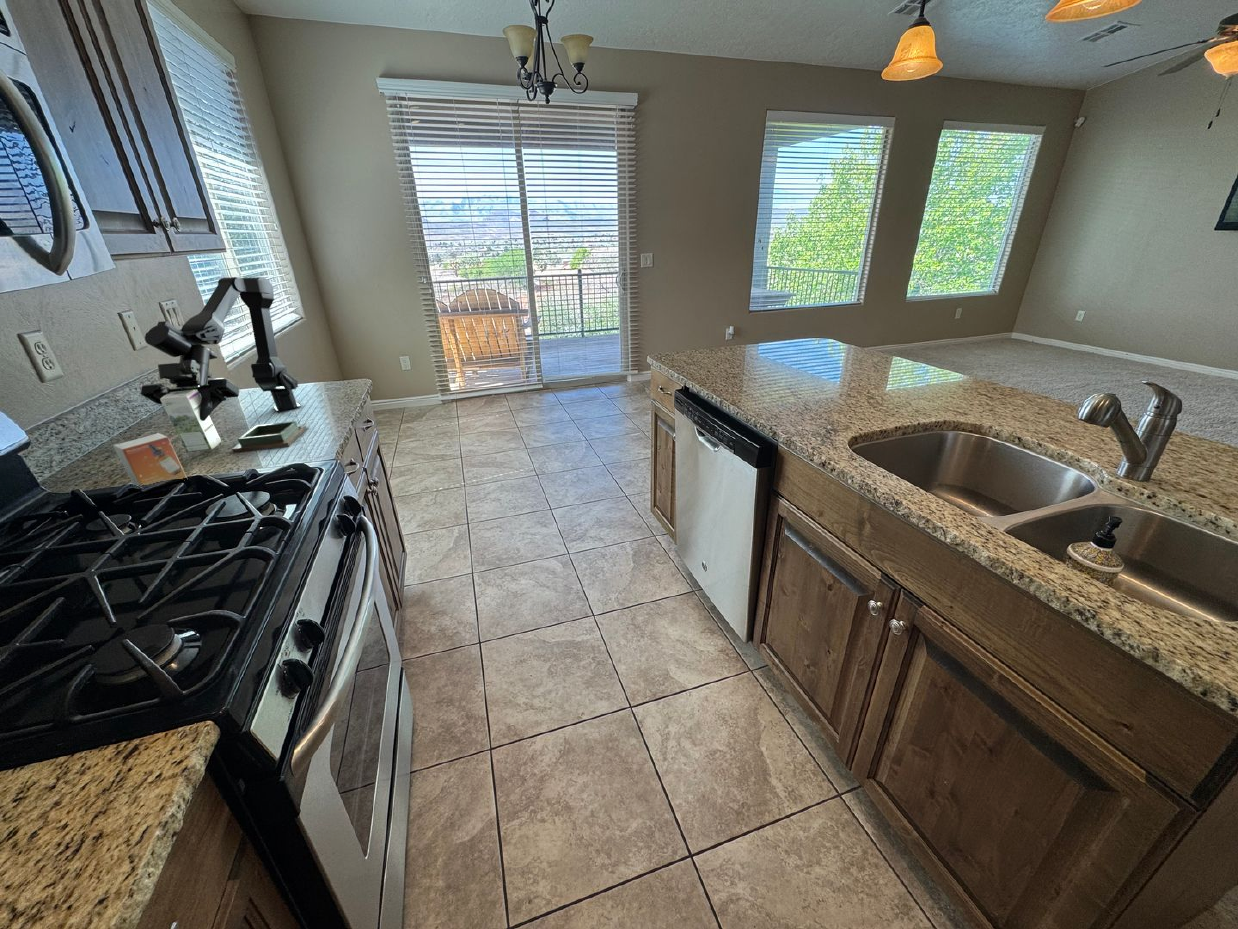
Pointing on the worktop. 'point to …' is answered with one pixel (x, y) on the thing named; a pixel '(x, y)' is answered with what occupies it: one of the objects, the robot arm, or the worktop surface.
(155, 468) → the small box
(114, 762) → the worktop surface
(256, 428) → the pad
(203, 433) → the syrup box
